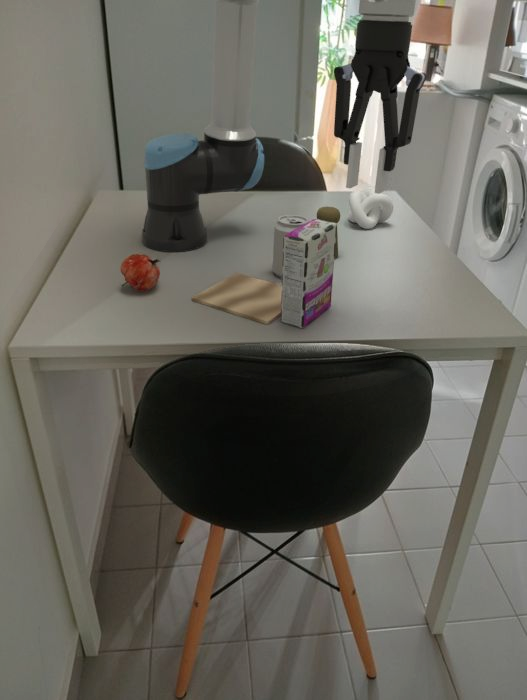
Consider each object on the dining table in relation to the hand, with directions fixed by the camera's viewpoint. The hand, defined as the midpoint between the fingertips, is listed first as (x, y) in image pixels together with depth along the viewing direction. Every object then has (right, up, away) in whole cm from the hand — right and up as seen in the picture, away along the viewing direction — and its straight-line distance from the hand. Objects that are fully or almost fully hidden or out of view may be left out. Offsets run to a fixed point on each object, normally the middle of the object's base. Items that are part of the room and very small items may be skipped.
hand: (365, 188), depth 95 cm
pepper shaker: (-2, -4, +43) cm, 43 cm away
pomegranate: (-40, -13, +24) cm, 49 cm away
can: (-10, -9, +33) cm, 36 cm away
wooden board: (-18, -15, +22) cm, 32 cm away
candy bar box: (-8, -19, +16) cm, 26 cm away
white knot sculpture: (+10, +7, +63) cm, 64 cm away
